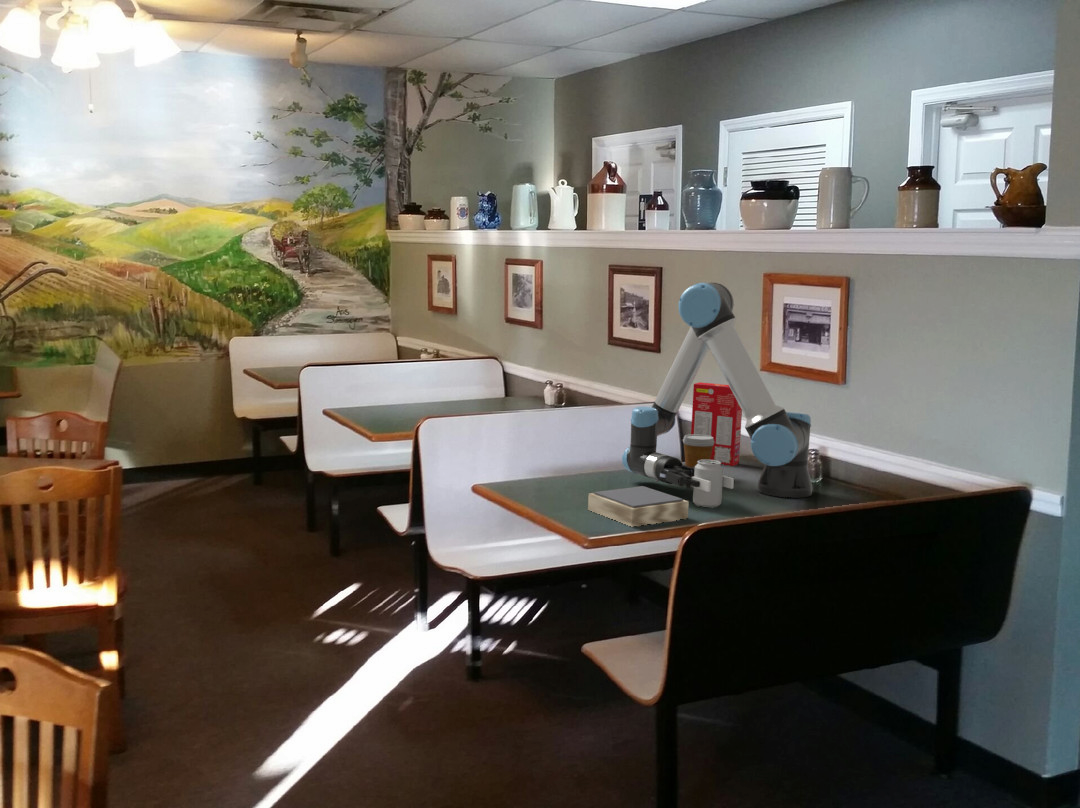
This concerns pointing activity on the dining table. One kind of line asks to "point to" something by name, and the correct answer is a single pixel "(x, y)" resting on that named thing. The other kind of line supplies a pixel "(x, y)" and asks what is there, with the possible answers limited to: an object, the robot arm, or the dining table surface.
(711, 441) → the disposable coffee cup
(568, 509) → the dining table surface
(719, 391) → the food packaging
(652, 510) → the dock
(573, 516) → the dining table surface
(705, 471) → the can
